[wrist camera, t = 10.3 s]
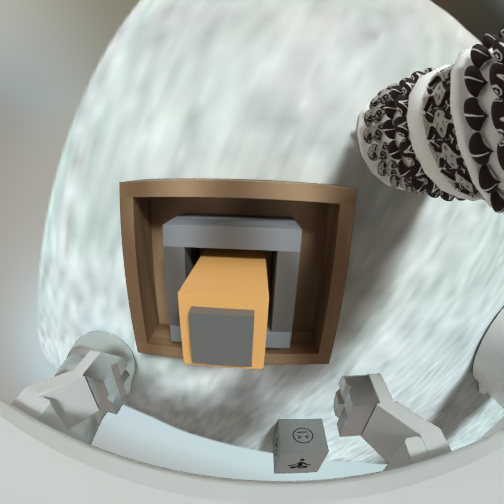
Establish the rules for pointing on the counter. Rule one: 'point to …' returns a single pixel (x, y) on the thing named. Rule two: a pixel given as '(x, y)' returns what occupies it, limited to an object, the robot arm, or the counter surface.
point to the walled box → (239, 237)
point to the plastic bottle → (79, 350)
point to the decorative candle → (442, 128)
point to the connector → (225, 309)
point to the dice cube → (299, 445)
